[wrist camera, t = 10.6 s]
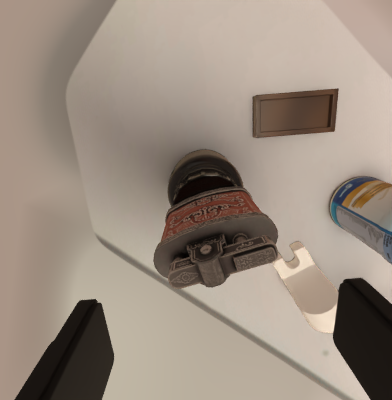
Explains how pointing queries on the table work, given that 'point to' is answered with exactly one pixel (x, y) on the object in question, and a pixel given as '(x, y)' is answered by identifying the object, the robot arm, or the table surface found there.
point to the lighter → (214, 238)
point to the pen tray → (294, 113)
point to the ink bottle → (201, 175)
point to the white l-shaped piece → (309, 288)
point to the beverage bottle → (366, 212)
